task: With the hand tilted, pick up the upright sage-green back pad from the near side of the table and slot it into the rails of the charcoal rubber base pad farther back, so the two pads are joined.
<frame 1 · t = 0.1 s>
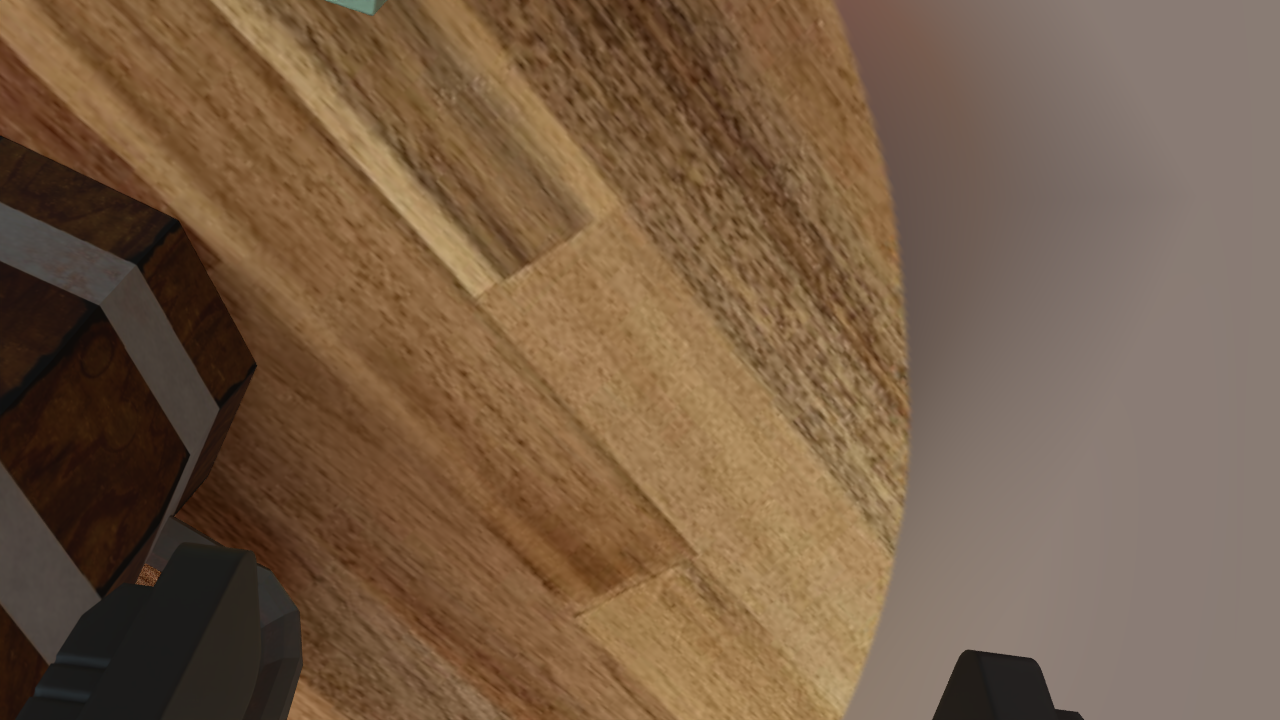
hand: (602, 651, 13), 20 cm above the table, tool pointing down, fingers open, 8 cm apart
mug: (122, 400, 36), on the table
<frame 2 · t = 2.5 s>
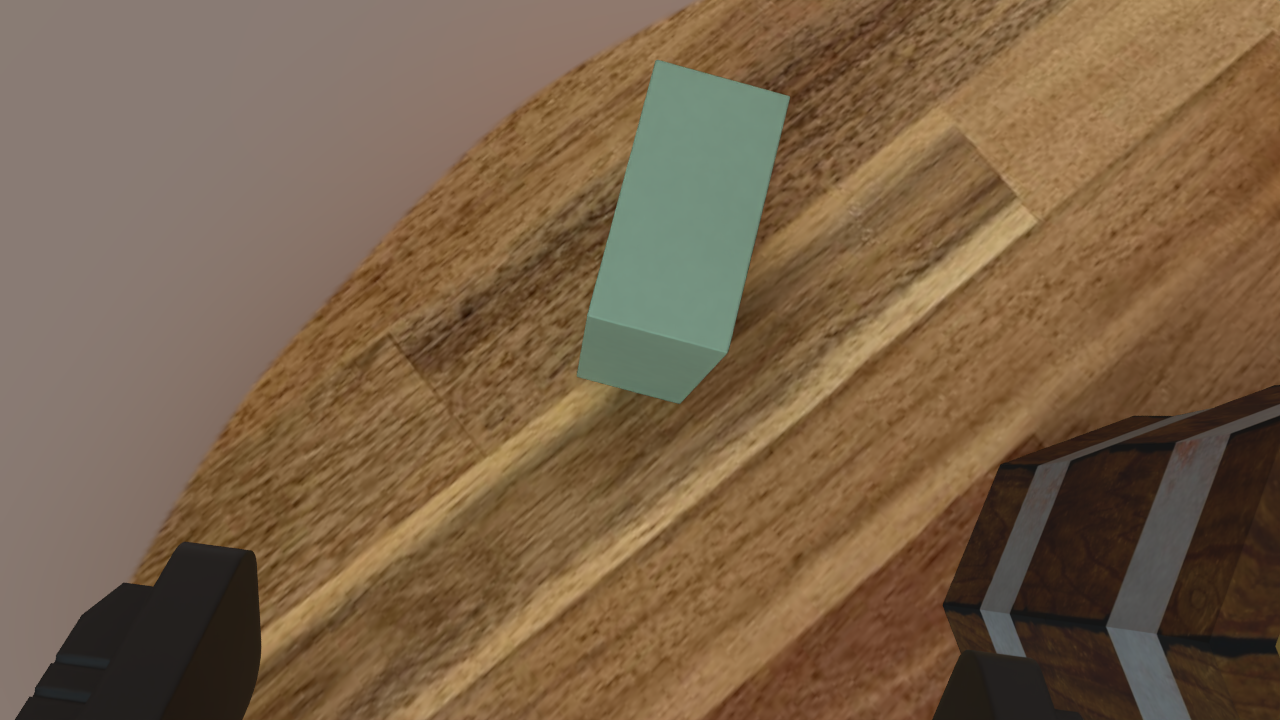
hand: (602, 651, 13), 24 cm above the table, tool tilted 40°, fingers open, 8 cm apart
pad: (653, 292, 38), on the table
mug: (1195, 553, 38), on the table
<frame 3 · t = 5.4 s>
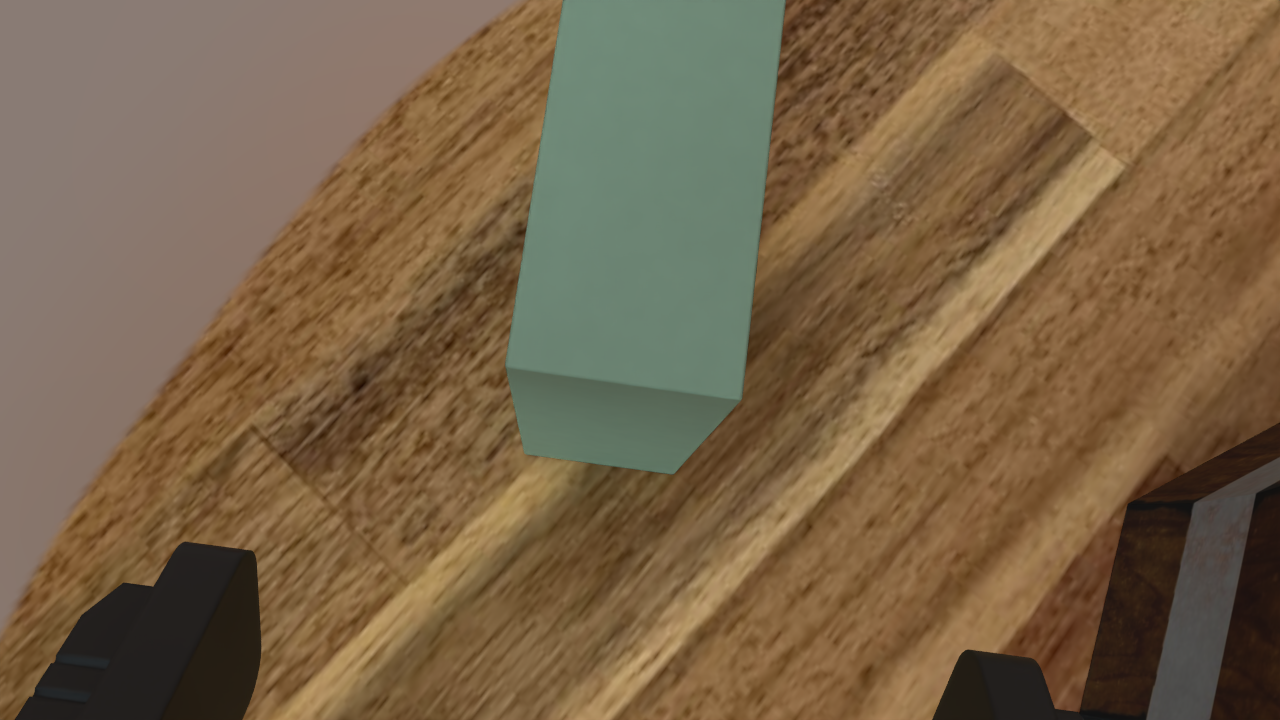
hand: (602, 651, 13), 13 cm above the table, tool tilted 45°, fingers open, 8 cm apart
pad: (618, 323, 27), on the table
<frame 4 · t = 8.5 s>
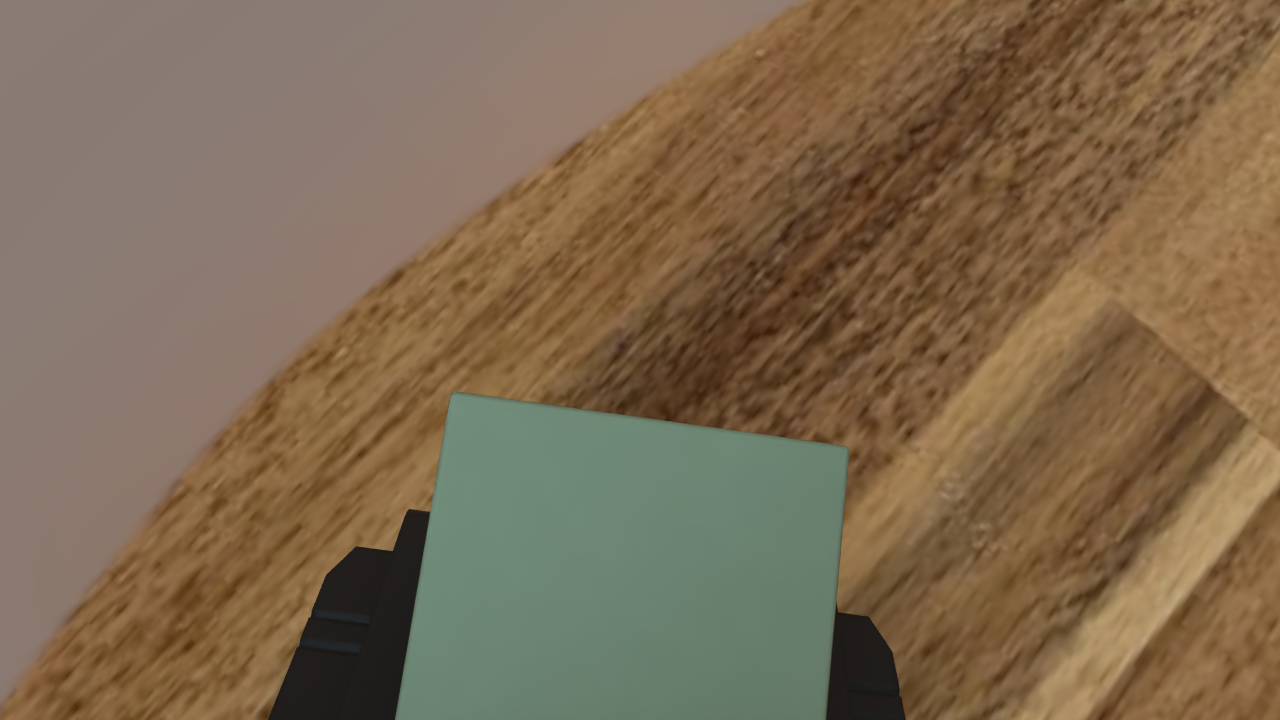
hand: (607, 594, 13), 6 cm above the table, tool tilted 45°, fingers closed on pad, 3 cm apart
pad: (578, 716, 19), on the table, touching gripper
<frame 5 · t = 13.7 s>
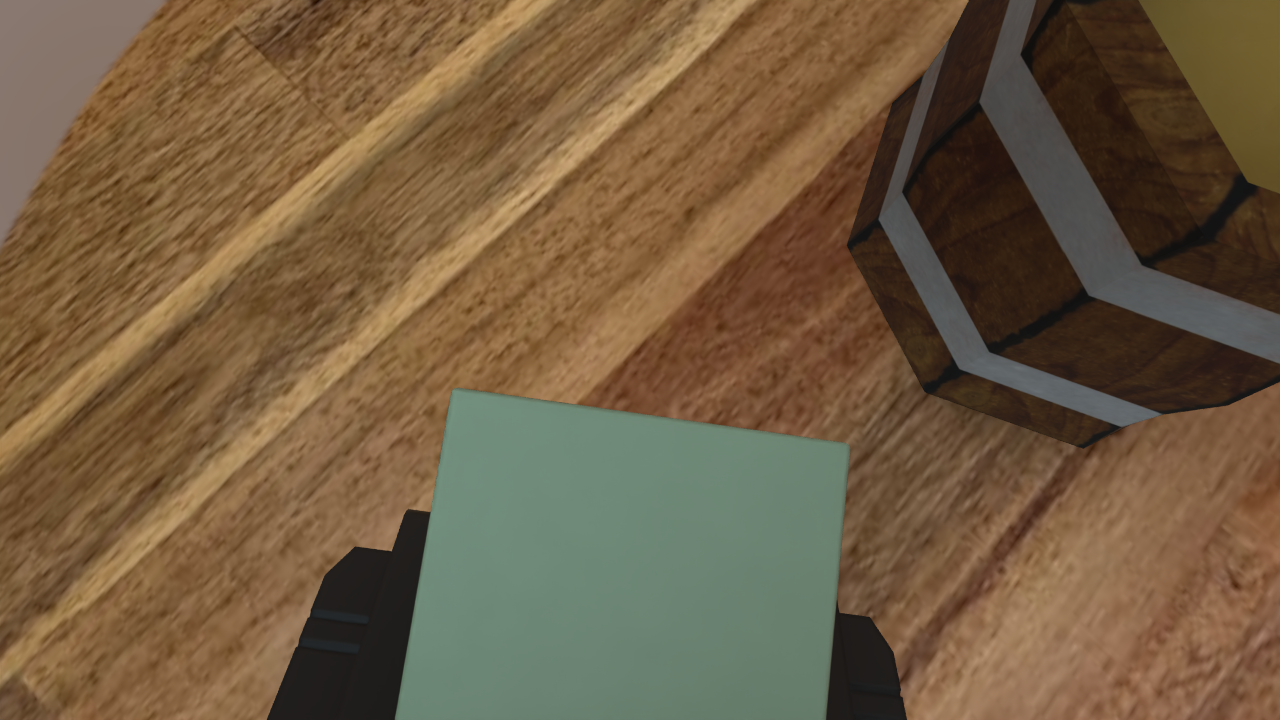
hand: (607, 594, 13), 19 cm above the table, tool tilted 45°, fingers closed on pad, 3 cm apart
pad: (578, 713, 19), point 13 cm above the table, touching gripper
mug: (1106, 175, 36), on the table
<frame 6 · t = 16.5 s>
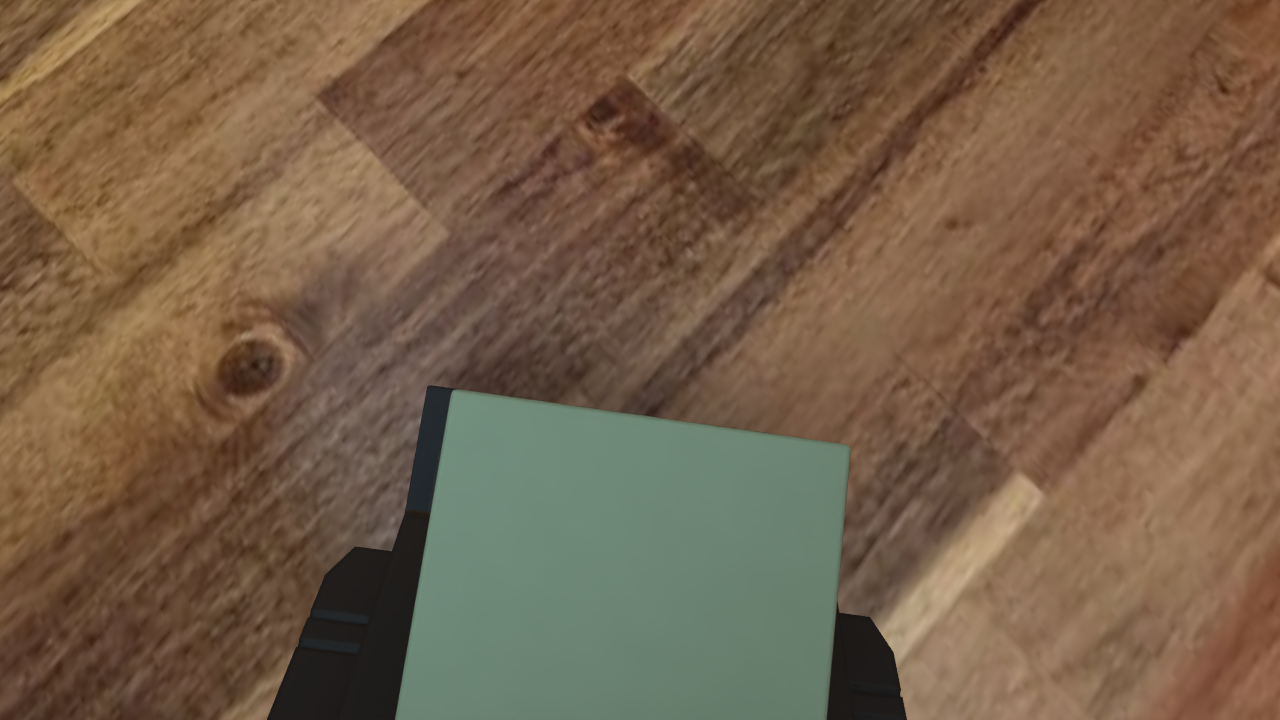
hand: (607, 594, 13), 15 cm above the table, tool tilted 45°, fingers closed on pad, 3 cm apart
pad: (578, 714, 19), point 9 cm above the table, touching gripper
base pad: (570, 675, 28), on the table
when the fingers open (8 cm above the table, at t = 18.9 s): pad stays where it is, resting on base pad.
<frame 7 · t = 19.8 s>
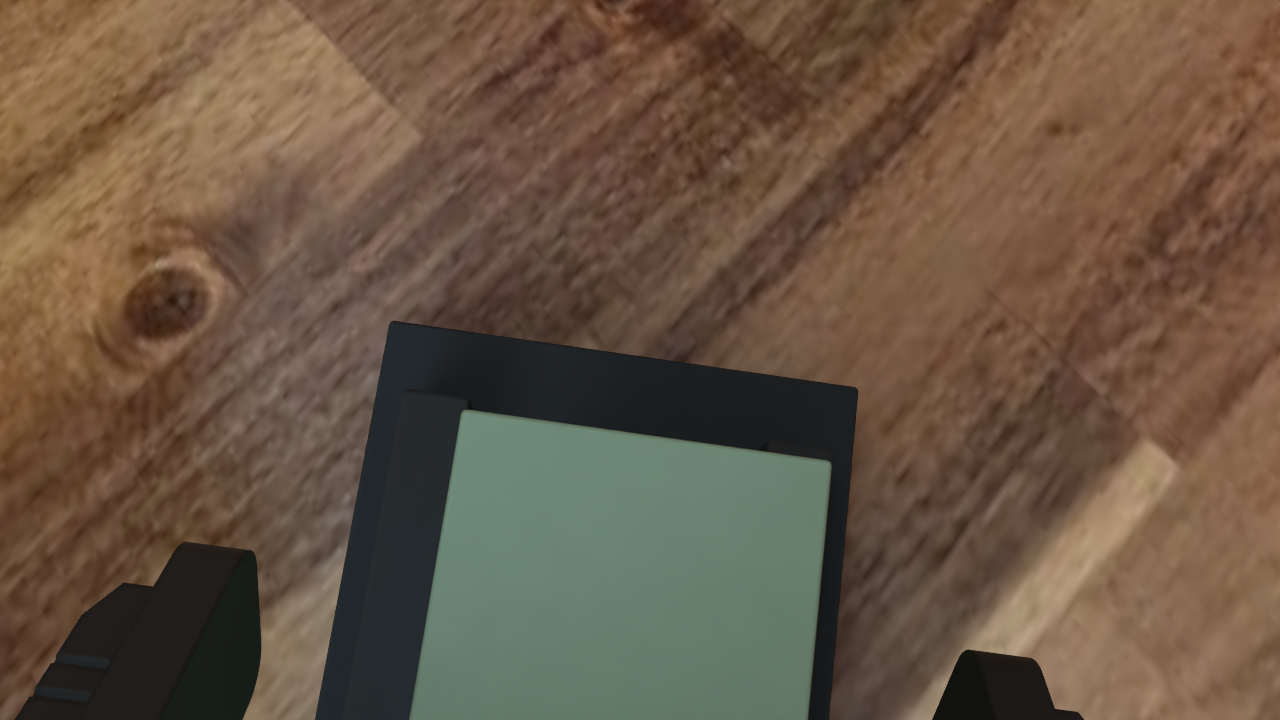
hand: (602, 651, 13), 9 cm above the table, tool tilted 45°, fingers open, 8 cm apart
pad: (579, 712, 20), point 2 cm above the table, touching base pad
base pad: (576, 699, 22), on the table
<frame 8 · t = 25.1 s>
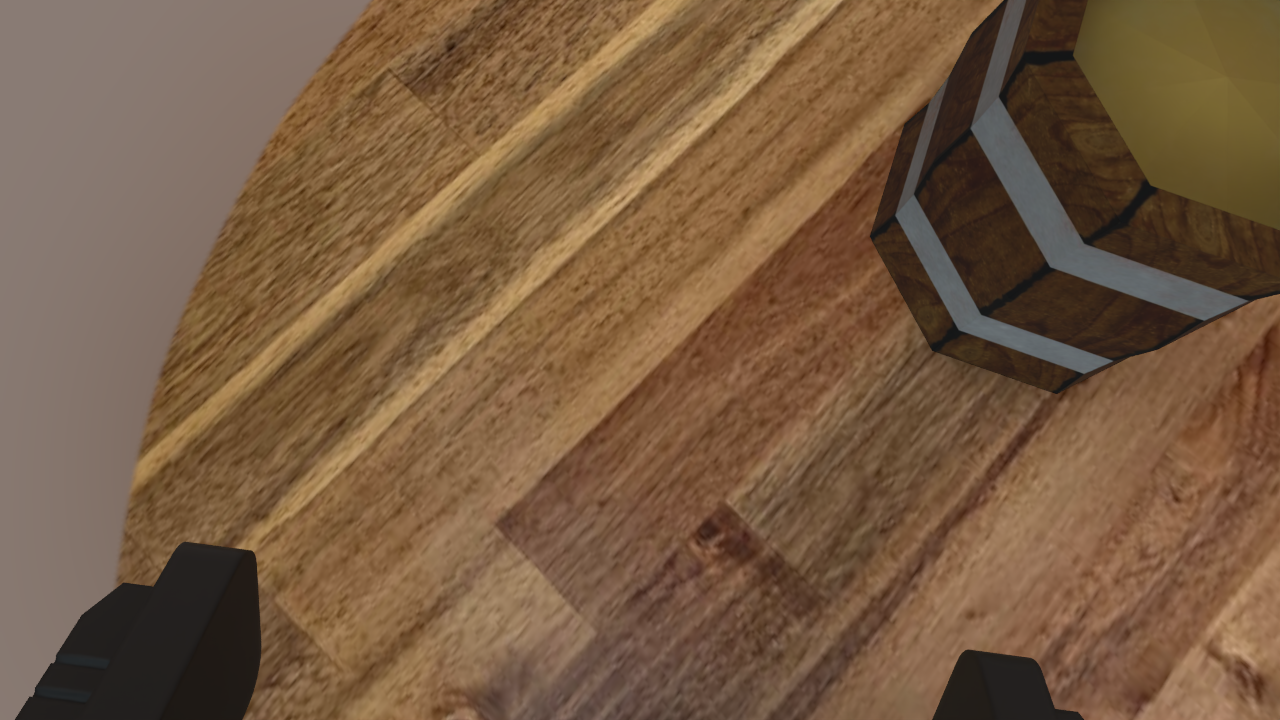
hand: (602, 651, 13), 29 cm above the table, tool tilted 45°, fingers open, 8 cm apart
mug: (1074, 179, 46), on the table
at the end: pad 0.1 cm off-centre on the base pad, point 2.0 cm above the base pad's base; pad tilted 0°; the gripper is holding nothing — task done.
